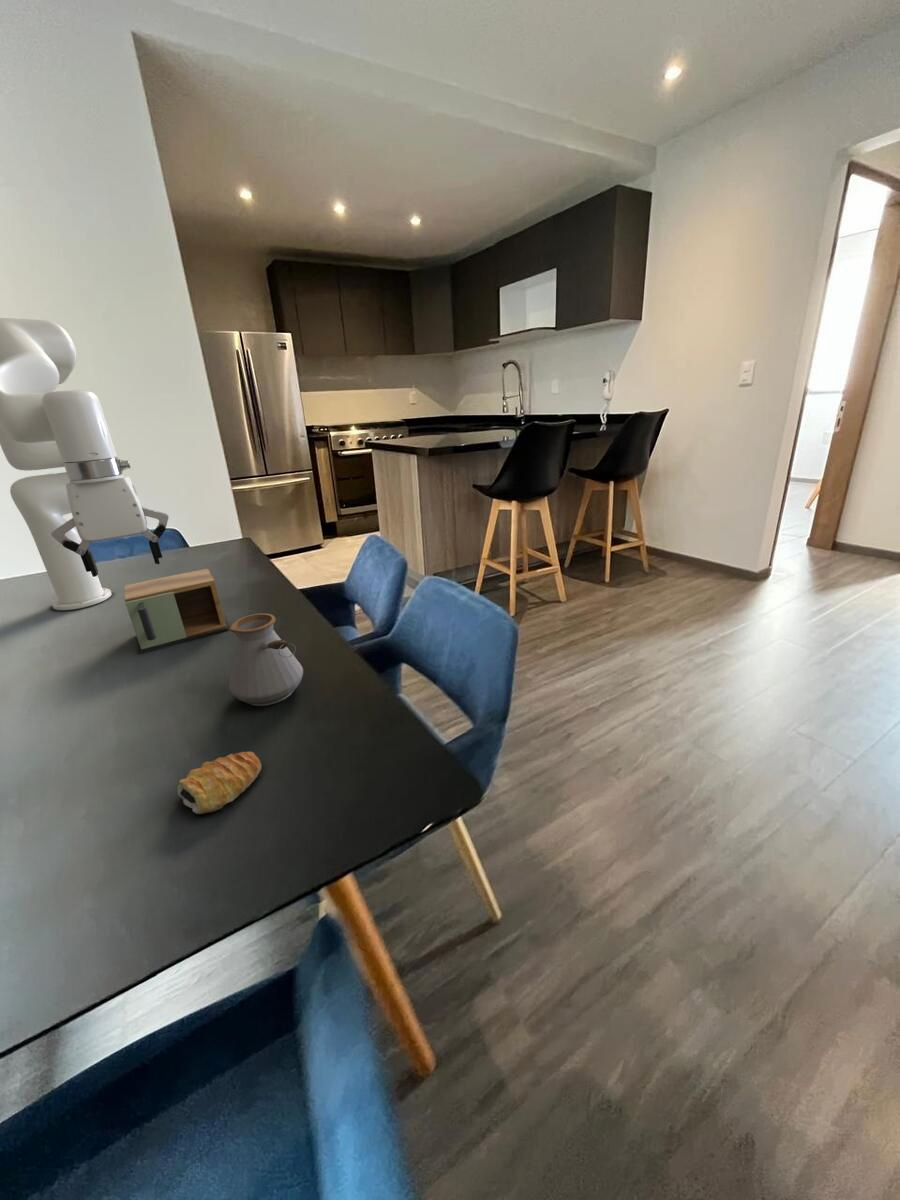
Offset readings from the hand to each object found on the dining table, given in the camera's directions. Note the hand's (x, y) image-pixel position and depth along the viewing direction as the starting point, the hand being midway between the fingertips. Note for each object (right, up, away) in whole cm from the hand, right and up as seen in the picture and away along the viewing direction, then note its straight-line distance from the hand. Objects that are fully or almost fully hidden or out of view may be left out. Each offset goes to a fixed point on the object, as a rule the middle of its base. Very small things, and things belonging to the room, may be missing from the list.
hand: (127, 568), depth 88 cm
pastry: (+30, -29, -28) cm, 50 cm away
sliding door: (+2, -15, +9) cm, 18 cm away
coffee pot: (+32, -22, -11) cm, 40 cm away
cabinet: (+1, -12, +17) cm, 21 cm away
